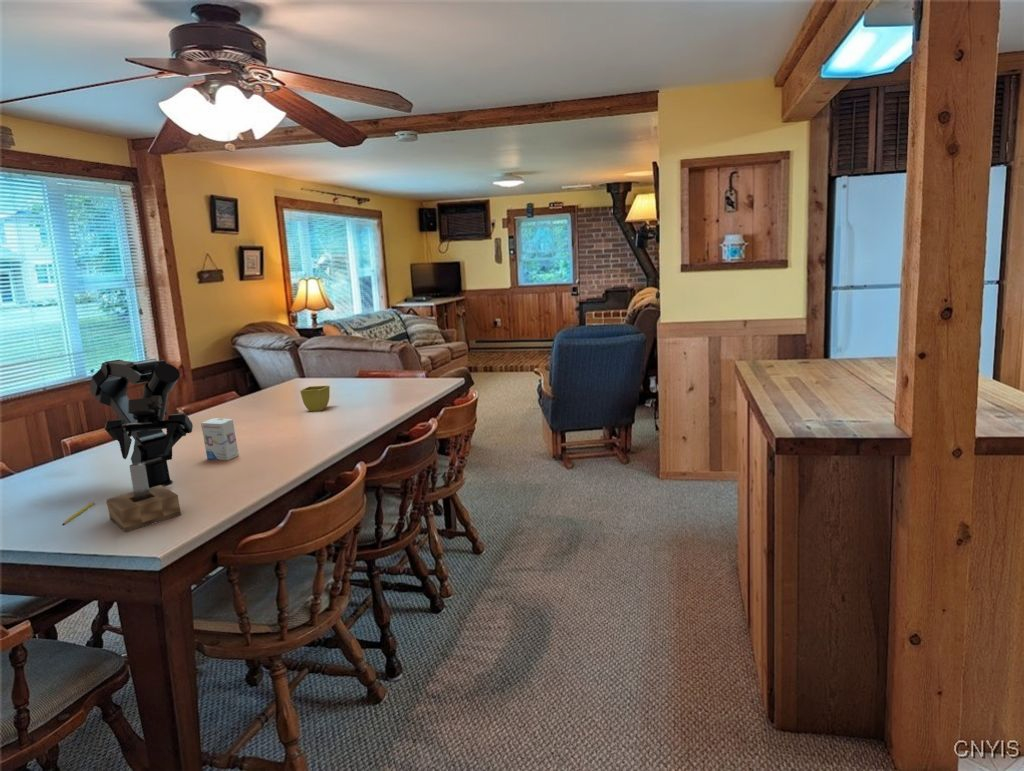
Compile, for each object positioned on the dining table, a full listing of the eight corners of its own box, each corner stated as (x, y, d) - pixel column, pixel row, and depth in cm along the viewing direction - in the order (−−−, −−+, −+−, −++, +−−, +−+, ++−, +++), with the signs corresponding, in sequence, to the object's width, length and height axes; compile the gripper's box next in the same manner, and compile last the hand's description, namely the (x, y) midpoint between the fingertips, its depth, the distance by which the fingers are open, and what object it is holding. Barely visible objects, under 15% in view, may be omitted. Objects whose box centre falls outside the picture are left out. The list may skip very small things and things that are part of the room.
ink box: (205, 459, 200) (199, 422, 198) (218, 454, 205) (212, 418, 203) (227, 460, 197) (221, 422, 195) (239, 455, 202) (234, 418, 200)
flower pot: (312, 407, 265) (309, 385, 263) (332, 406, 264) (329, 385, 262) (302, 412, 256) (299, 390, 255) (323, 412, 255) (320, 389, 253)
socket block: (164, 503, 163) (160, 484, 162) (181, 514, 155) (177, 494, 154) (110, 519, 155) (106, 499, 154) (125, 532, 146) (121, 511, 145)
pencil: (60, 527, 153) (59, 523, 153) (91, 505, 167) (90, 501, 166) (64, 527, 153) (63, 523, 153) (95, 504, 167) (94, 501, 167)
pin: (149, 508, 157) (142, 461, 154) (154, 512, 155) (147, 464, 152) (135, 512, 155) (127, 465, 152) (139, 516, 152) (131, 468, 150)
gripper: (100, 388, 159) (87, 444, 151) (181, 381, 162) (172, 436, 153) (120, 412, 168) (109, 466, 160) (196, 405, 171) (189, 458, 162)
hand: (144, 456), depth 159 cm, fingers open, 9 cm apart
